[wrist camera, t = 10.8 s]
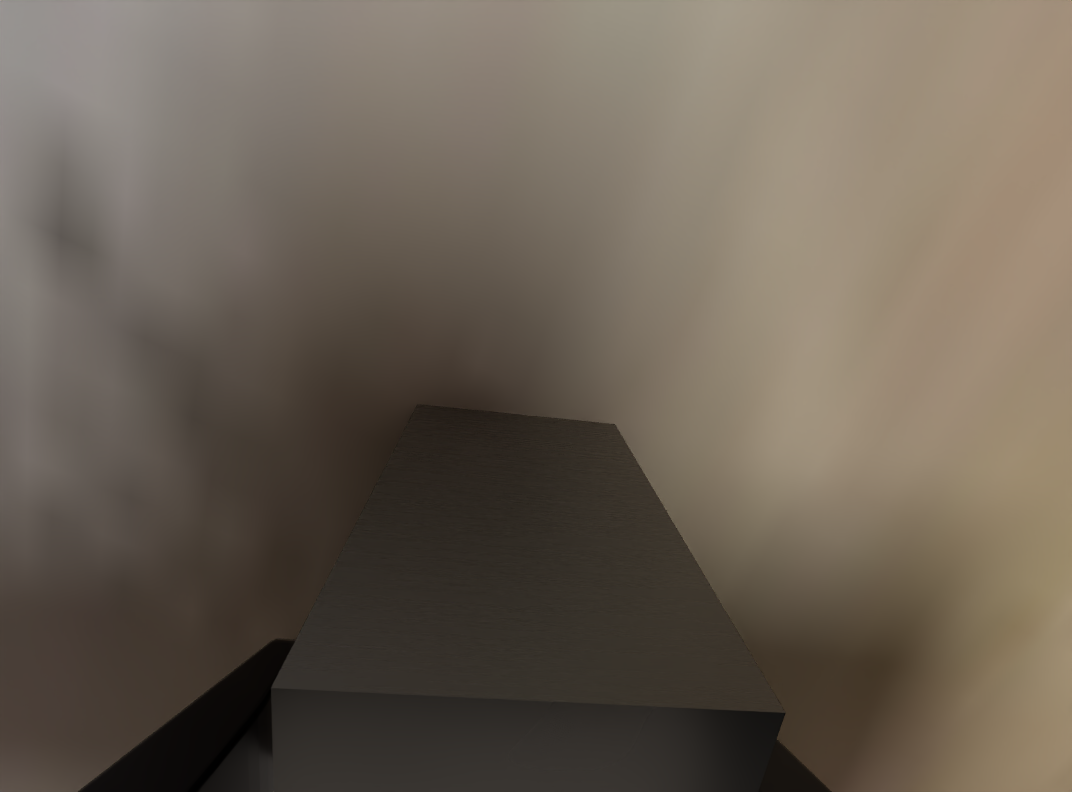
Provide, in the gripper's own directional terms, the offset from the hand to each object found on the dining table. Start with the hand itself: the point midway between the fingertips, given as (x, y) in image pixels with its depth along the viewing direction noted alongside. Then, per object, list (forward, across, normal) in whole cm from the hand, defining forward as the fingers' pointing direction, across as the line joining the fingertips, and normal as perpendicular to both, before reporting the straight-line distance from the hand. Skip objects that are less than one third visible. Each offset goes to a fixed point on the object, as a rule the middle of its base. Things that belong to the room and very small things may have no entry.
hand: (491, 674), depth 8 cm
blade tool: (+1, 0, +8) cm, 8 cm away
